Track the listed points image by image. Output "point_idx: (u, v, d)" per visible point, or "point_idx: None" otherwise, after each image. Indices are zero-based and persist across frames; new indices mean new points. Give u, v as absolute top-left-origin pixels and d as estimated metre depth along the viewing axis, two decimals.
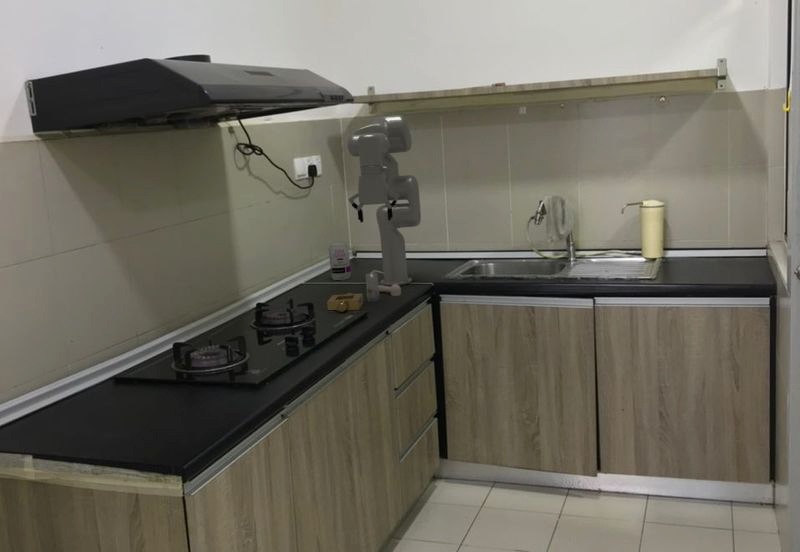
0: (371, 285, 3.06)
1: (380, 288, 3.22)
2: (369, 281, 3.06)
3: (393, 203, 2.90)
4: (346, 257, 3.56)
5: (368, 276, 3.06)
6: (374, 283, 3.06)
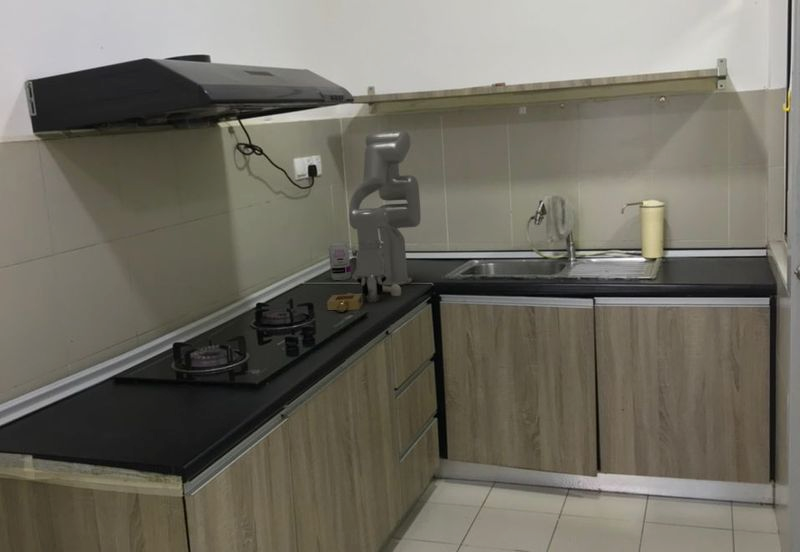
0: (371, 285, 3.06)
1: None
2: (369, 281, 3.06)
3: (383, 279, 3.07)
4: (346, 257, 3.56)
5: (368, 276, 3.06)
6: (374, 283, 3.06)
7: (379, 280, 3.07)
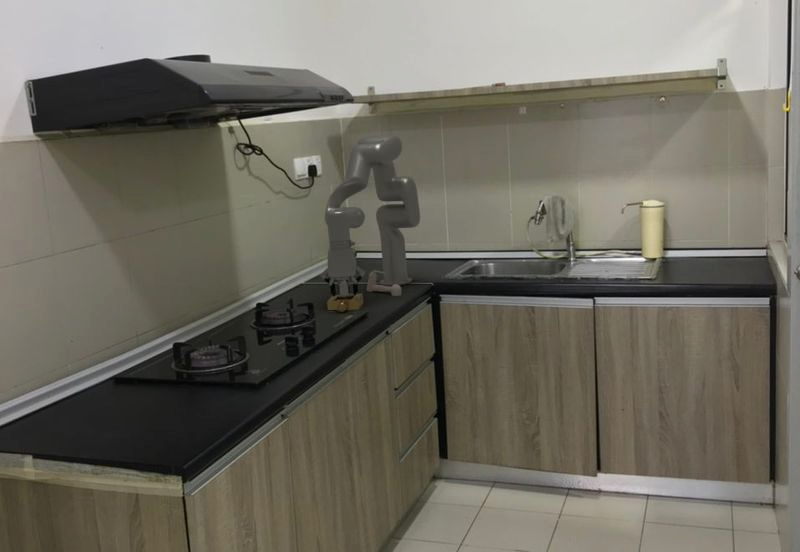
0: (343, 291, 3.00)
1: (380, 288, 3.22)
2: (341, 287, 2.99)
3: (358, 278, 3.00)
4: None
5: (340, 282, 2.99)
6: (346, 288, 3.00)
7: (354, 280, 2.99)
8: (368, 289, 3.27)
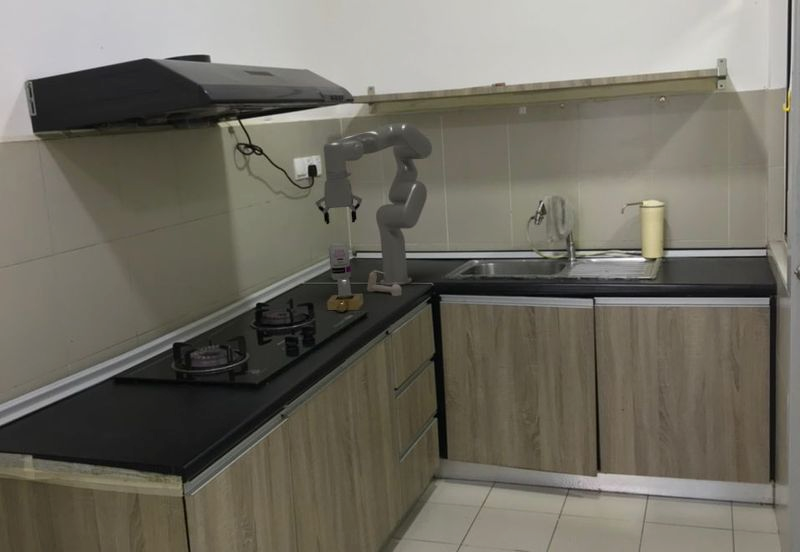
0: (343, 291, 3.00)
1: (381, 288, 3.22)
2: (341, 287, 2.99)
3: (357, 206, 3.12)
4: (346, 257, 3.56)
5: (340, 282, 2.99)
6: (346, 288, 3.00)
7: (351, 208, 3.12)
8: (368, 289, 3.27)
